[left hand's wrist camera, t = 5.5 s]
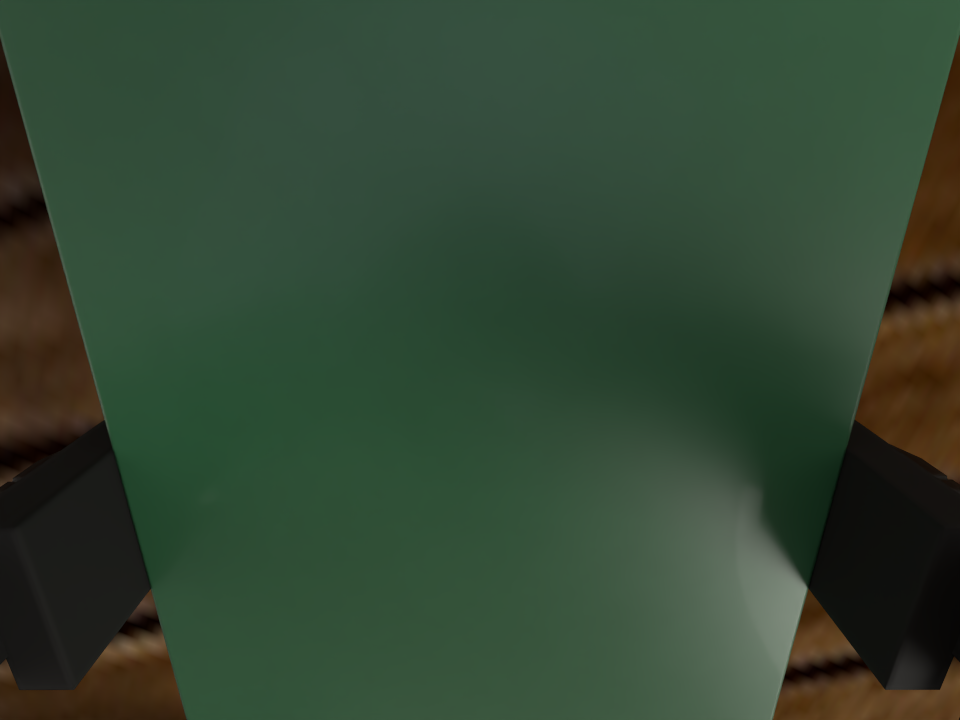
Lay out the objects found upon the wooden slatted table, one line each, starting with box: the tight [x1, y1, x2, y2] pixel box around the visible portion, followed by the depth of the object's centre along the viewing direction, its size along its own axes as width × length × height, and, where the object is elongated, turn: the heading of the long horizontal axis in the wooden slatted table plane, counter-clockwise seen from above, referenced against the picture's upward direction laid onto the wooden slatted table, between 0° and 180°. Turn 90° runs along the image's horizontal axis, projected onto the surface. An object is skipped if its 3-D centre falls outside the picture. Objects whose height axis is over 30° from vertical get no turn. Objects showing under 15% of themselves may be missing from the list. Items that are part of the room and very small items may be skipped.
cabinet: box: [0, 0, 960, 720], centre depth 12 cm, size 21×11×11 cm, turn 0°
